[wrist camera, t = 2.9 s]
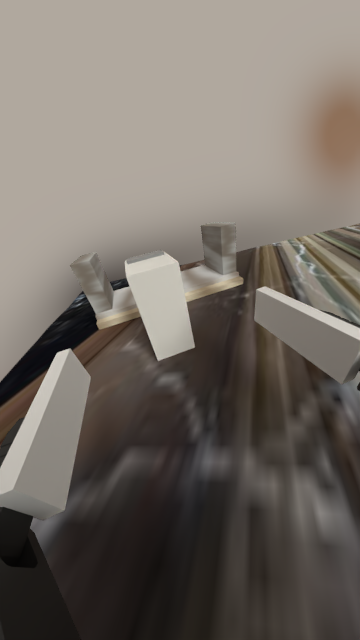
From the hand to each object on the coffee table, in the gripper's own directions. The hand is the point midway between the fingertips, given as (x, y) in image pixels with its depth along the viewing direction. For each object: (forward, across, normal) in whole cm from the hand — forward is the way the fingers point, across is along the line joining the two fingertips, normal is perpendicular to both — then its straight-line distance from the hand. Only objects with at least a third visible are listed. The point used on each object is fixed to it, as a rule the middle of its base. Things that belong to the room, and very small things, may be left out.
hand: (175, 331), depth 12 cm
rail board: (+26, +4, -8) cm, 27 cm away
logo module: (+10, 0, -8) cm, 13 cm away
